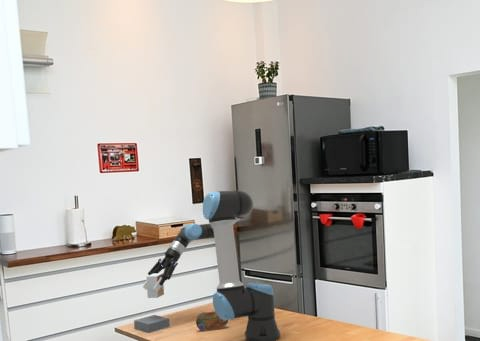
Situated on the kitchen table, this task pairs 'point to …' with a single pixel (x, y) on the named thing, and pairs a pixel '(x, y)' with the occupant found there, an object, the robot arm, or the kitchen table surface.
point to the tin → (210, 321)
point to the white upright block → (151, 284)
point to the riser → (151, 323)
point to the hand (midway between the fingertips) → (149, 289)
